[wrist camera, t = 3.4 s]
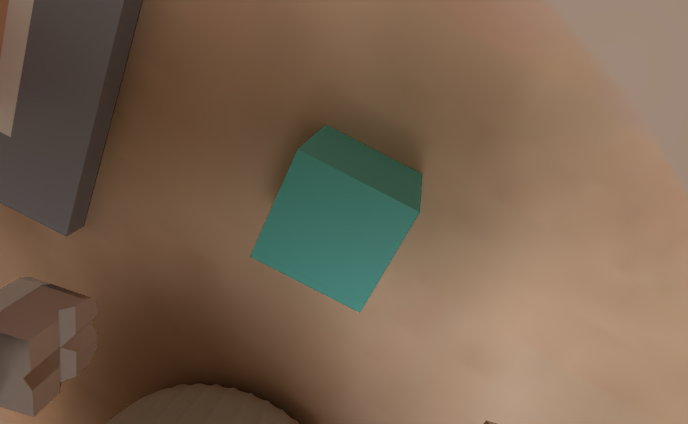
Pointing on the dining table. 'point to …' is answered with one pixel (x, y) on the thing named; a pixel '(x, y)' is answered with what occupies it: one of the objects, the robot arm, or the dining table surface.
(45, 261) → the dining table surface
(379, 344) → the dining table surface
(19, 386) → the robot arm
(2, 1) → the terracotta block
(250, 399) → the canister
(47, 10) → the baseplate
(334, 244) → the teal block
